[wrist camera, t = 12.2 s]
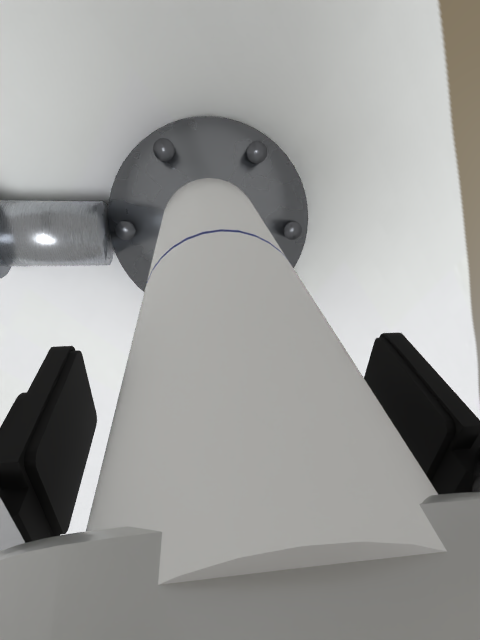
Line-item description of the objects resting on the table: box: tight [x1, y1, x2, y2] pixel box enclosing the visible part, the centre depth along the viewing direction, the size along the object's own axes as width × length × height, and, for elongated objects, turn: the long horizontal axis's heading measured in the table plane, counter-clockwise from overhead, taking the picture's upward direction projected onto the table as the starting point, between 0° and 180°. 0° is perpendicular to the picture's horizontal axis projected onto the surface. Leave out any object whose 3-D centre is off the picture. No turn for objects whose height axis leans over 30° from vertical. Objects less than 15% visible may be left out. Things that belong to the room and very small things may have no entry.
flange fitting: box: [0, 116, 308, 292], centre depth 26 cm, size 23×15×6 cm, turn 88°
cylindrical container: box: [86, 178, 447, 585], centre depth 17 cm, size 7×7×25 cm
